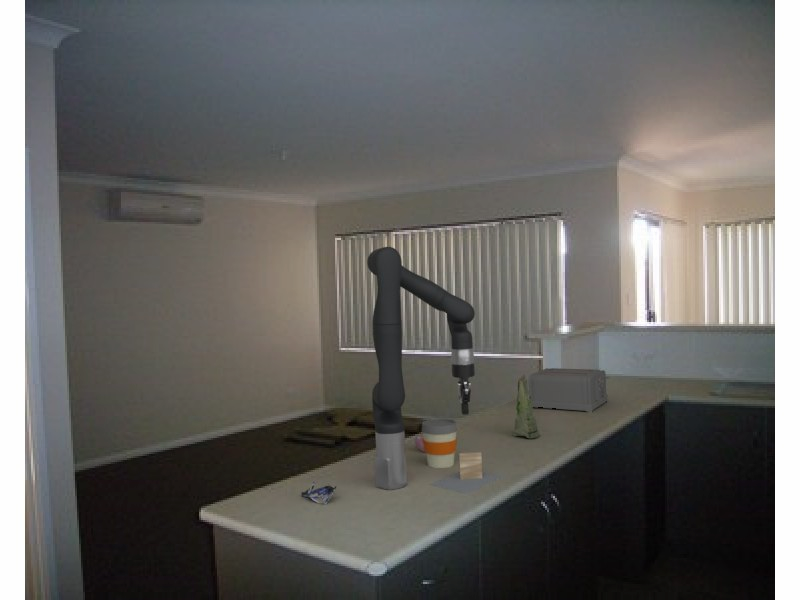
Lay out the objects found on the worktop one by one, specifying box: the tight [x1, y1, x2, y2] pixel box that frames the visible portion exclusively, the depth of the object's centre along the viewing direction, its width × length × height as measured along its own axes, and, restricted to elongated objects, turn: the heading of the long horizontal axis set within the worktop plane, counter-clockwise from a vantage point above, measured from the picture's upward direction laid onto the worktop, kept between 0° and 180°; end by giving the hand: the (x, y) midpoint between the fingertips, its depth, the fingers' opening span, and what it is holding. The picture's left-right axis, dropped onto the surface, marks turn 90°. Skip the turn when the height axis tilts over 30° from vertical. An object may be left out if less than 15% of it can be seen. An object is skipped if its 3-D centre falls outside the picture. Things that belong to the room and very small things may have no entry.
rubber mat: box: [428, 471, 504, 495], centre depth 192 cm, size 20×15×1 cm
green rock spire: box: [513, 374, 540, 439], centre depth 248 cm, size 11×12×25 cm
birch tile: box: [458, 451, 483, 479], centre depth 194 cm, size 2×7×8 cm, turn 93°
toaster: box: [527, 367, 611, 413], centre depth 309 cm, size 31×36×17 cm
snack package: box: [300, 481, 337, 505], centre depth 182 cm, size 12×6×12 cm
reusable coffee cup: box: [421, 418, 458, 469], centre depth 211 cm, size 13×13×15 cm
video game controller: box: [414, 433, 425, 453], centre depth 234 cm, size 10×5×7 cm, turn 141°
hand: (465, 414), depth 201 cm, fingers closed
